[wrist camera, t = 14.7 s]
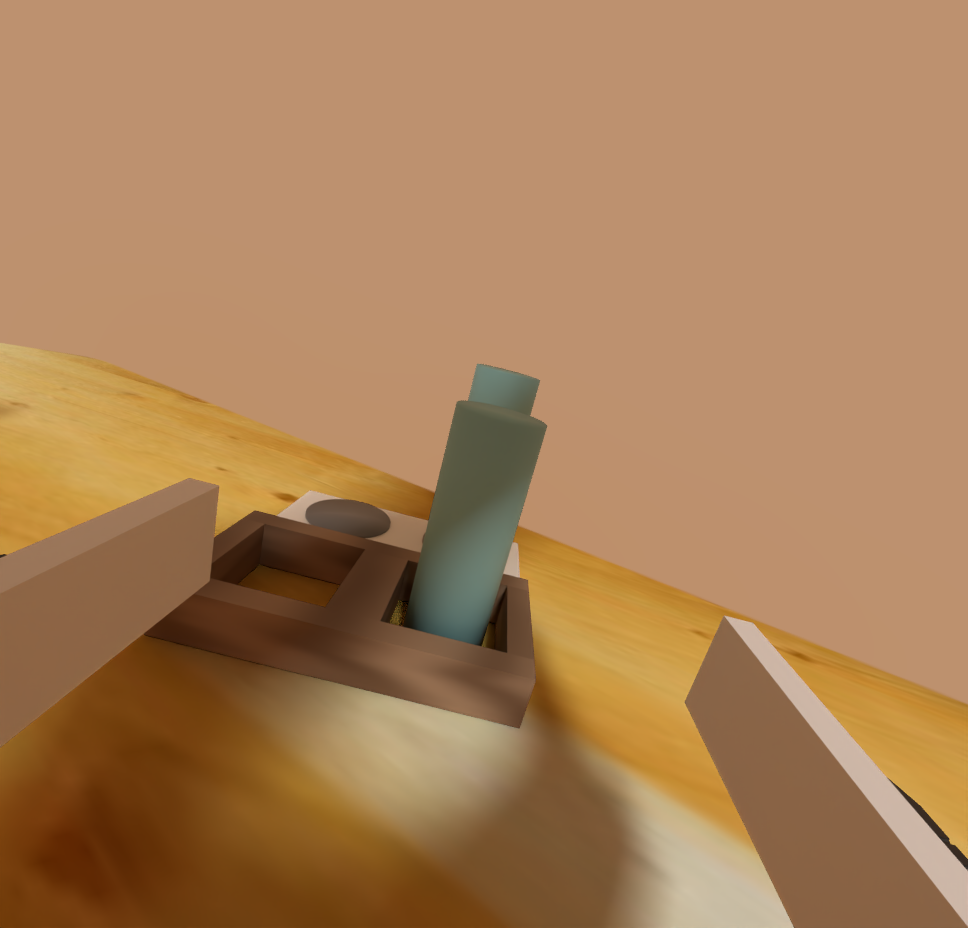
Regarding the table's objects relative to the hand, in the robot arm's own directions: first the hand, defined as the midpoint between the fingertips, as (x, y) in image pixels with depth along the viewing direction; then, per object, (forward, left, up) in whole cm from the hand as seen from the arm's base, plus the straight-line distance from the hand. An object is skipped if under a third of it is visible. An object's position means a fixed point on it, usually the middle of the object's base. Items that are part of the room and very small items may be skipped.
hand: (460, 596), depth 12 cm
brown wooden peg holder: (+8, -6, -9) cm, 13 cm away
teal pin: (+5, -8, -9) cm, 13 cm away
